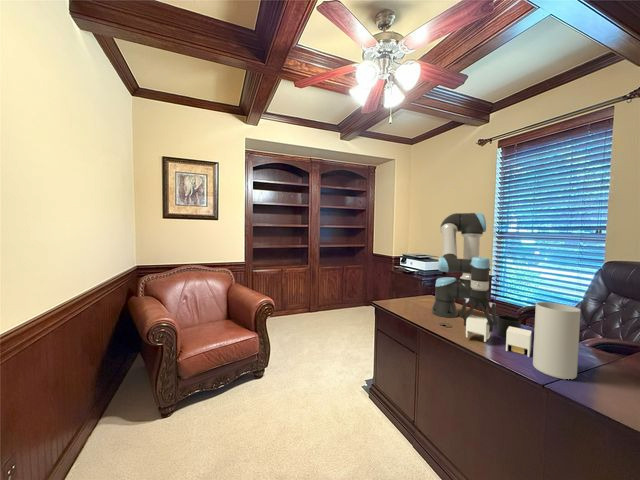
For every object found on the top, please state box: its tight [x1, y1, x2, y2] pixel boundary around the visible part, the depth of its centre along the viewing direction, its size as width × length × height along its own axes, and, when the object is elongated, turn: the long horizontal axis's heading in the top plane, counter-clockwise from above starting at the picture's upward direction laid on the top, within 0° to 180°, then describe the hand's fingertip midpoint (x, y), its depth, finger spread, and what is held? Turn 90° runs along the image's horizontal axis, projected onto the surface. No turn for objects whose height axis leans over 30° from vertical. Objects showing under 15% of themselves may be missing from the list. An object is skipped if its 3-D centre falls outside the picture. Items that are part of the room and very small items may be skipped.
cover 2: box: [505, 326, 533, 358], centre depth 116 cm, size 8×8×9 cm
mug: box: [496, 315, 522, 339], centre depth 134 cm, size 9×12×9 cm
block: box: [510, 345, 526, 355], centre depth 116 cm, size 4×4×4 cm
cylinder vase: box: [532, 301, 581, 381], centre depth 99 cm, size 12×12×25 cm
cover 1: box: [465, 314, 489, 343], centre depth 127 cm, size 8×8×9 cm
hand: (477, 335), depth 127 cm, fingers closed on cover 1, 8 cm apart
